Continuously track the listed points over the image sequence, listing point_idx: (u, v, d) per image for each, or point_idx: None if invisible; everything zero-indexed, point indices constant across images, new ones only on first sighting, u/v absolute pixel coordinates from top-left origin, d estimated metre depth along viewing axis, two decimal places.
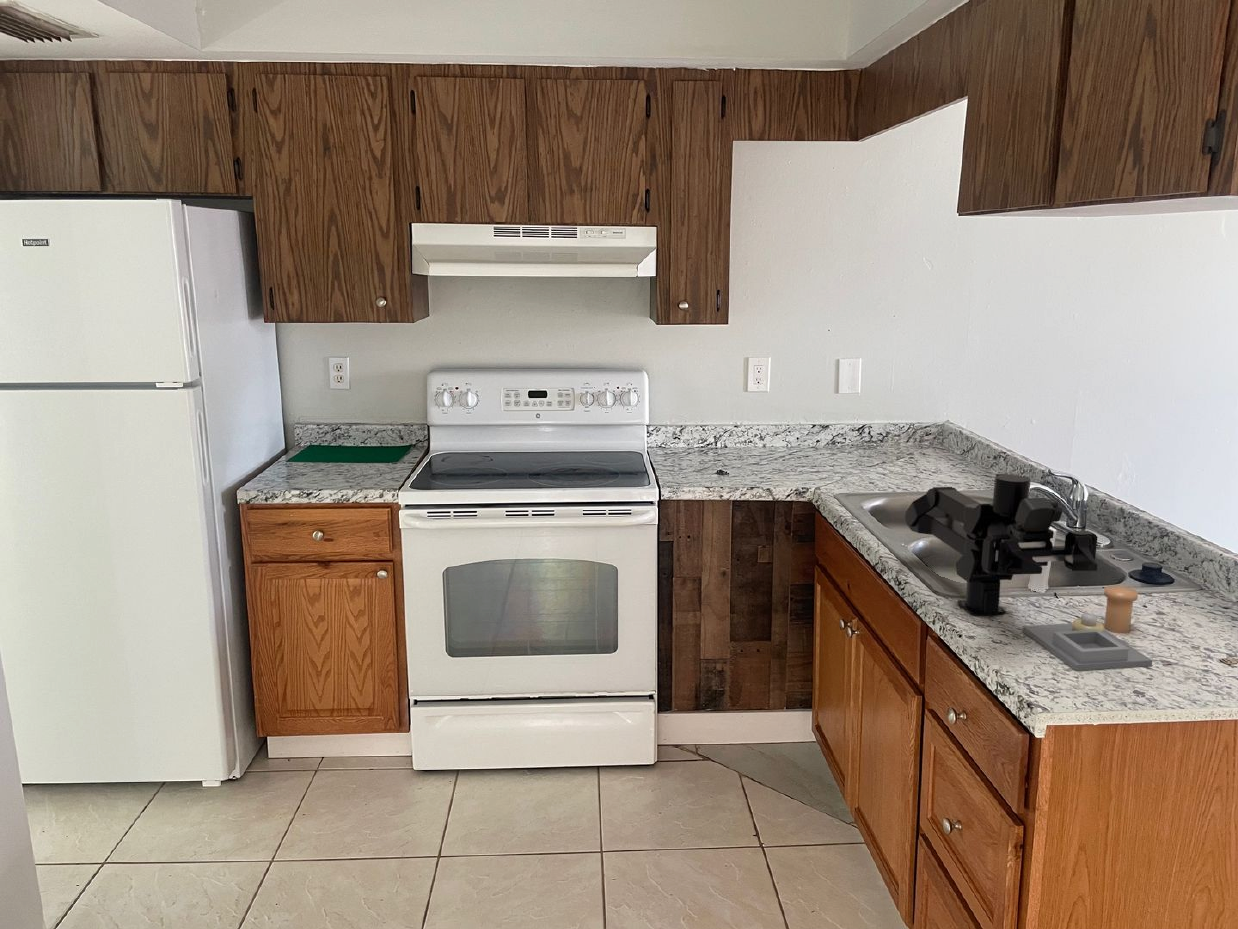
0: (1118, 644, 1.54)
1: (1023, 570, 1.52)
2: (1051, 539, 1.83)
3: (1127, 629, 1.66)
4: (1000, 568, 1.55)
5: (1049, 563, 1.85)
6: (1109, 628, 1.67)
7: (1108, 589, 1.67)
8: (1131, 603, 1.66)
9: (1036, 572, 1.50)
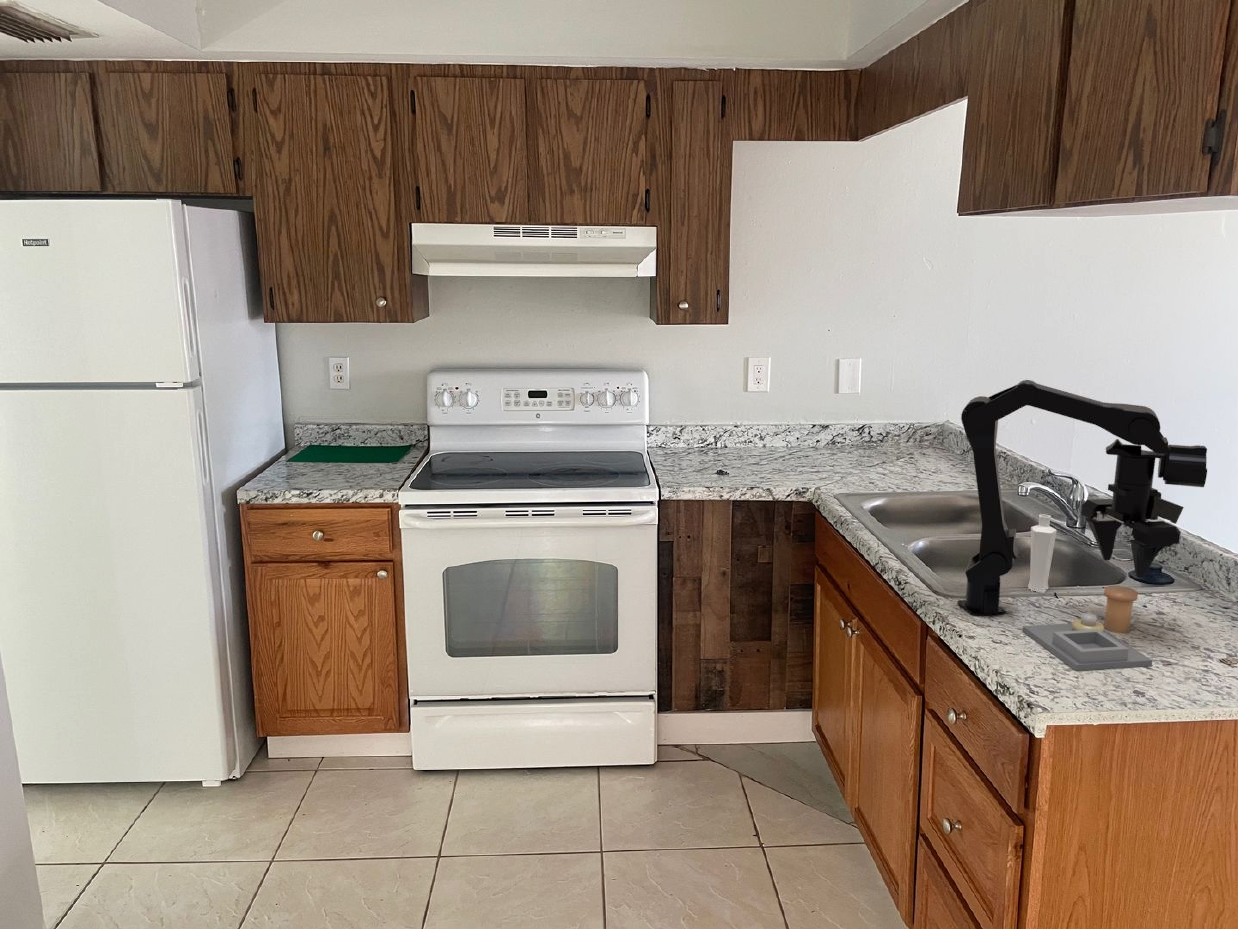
0: (1118, 644, 1.54)
1: (1141, 562, 1.59)
2: (1051, 539, 1.83)
3: (1127, 629, 1.66)
4: None
5: (1049, 563, 1.85)
6: (1109, 628, 1.67)
7: (1108, 589, 1.67)
8: (1131, 603, 1.66)
9: (1139, 574, 1.61)
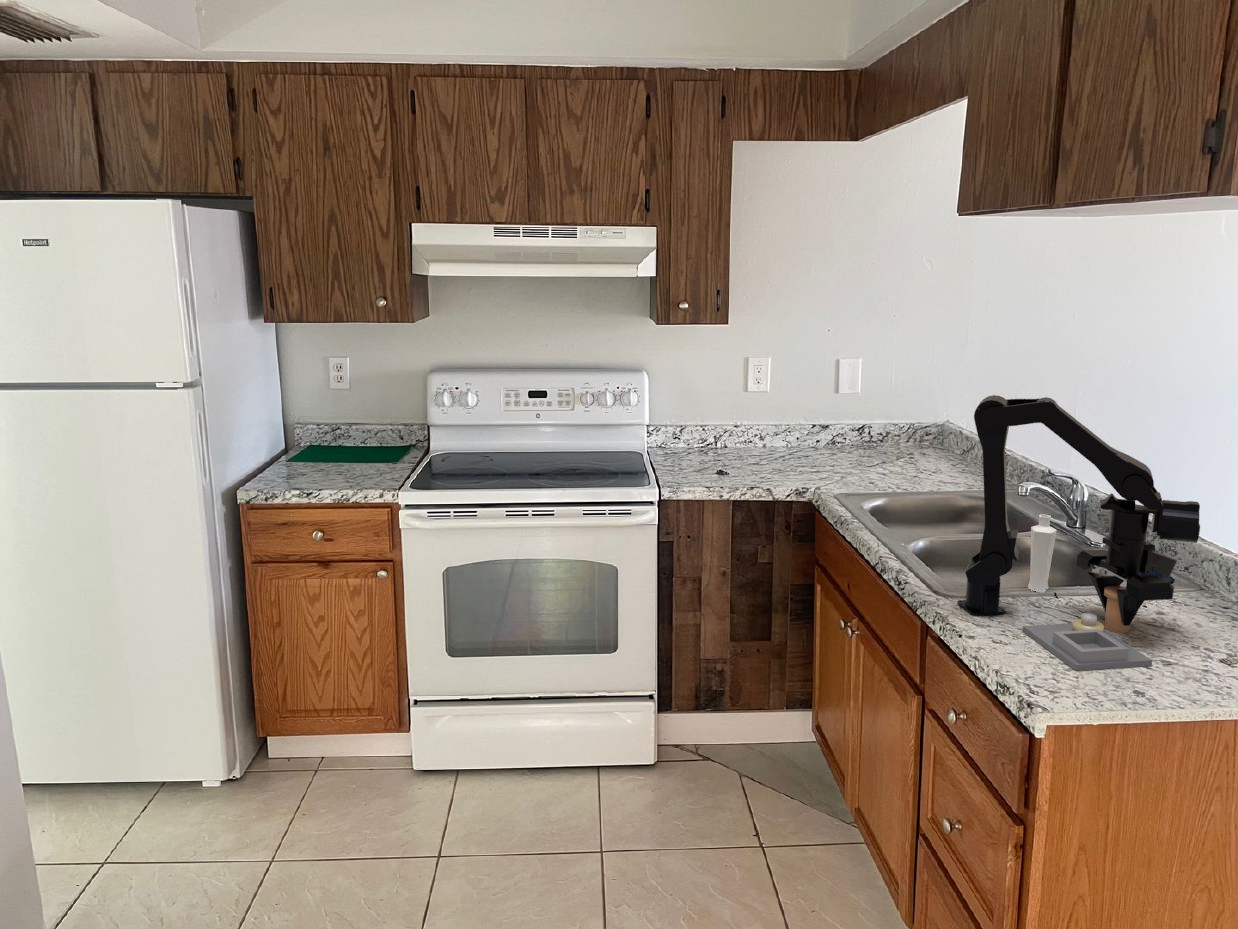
0: (1118, 644, 1.54)
1: (1126, 611, 1.64)
2: (1051, 539, 1.83)
3: (1127, 629, 1.66)
4: None
5: (1049, 563, 1.85)
6: (1109, 628, 1.67)
7: (1108, 589, 1.67)
8: None
9: (1125, 623, 1.65)
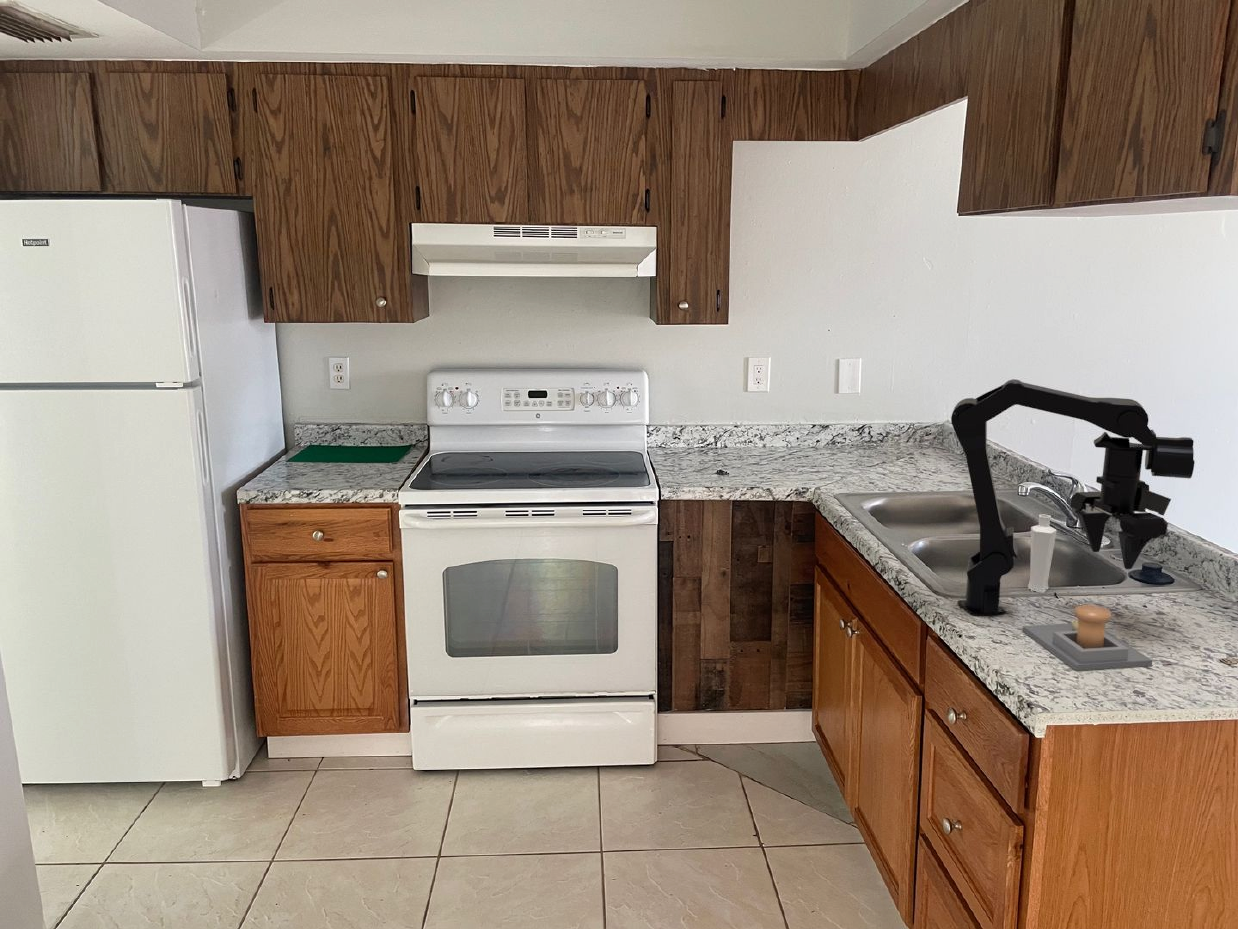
0: (1118, 644, 1.54)
1: (1128, 553, 1.61)
2: (1051, 539, 1.83)
3: None
4: None
5: (1049, 563, 1.85)
6: None
7: (1079, 609, 1.56)
8: (1104, 624, 1.54)
9: (1127, 566, 1.62)
